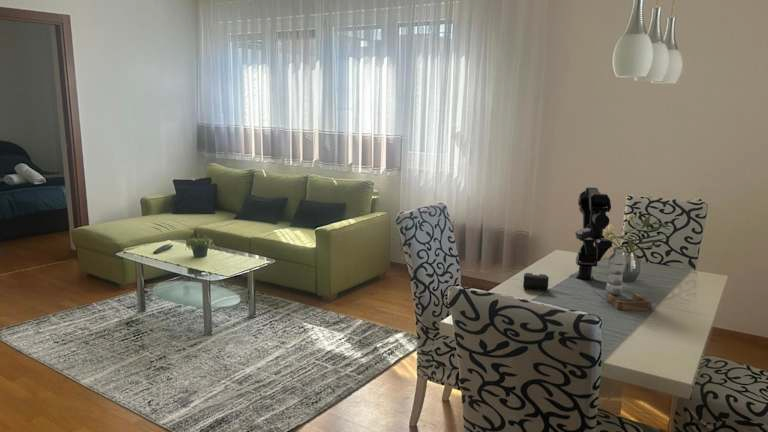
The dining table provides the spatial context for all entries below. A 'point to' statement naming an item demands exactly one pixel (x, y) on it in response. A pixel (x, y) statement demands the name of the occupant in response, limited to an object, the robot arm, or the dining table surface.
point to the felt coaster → (621, 297)
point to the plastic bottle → (615, 272)
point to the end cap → (535, 282)
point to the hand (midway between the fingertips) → (592, 258)
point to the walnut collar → (630, 303)
